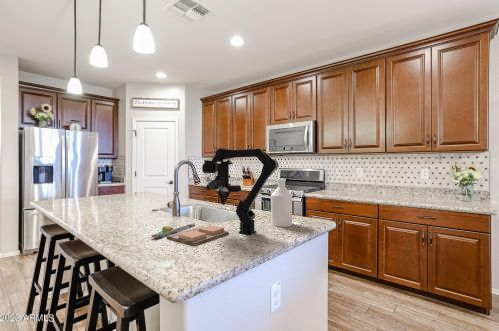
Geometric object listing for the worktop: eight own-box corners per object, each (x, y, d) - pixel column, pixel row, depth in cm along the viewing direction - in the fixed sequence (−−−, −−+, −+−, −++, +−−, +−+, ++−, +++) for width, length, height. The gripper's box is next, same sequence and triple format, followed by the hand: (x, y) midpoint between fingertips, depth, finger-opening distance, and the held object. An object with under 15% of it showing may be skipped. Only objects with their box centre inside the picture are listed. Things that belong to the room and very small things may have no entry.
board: (228, 233, 128) (228, 231, 128) (194, 245, 110) (194, 242, 110) (202, 228, 139) (202, 226, 139) (166, 238, 121) (166, 235, 121)
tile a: (210, 228, 134) (224, 231, 128) (198, 232, 127) (212, 234, 122) (210, 225, 134) (224, 227, 128) (198, 228, 127) (212, 231, 122)
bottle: (266, 224, 146) (266, 179, 146) (277, 220, 156) (277, 177, 155) (286, 227, 139) (286, 179, 139) (296, 223, 149) (296, 178, 149)
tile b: (192, 233, 124) (206, 237, 119) (178, 237, 118) (192, 241, 112) (192, 230, 124) (206, 233, 119) (178, 234, 118) (192, 237, 112)
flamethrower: (143, 237, 122) (160, 241, 118) (143, 232, 122) (160, 235, 118) (183, 225, 149) (198, 227, 145) (183, 220, 149) (198, 222, 145)
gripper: (198, 173, 133) (198, 205, 133) (226, 174, 122) (226, 209, 122) (213, 172, 142) (213, 202, 142) (241, 173, 131) (241, 205, 131)
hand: (223, 204), depth 134 cm, fingers closed
